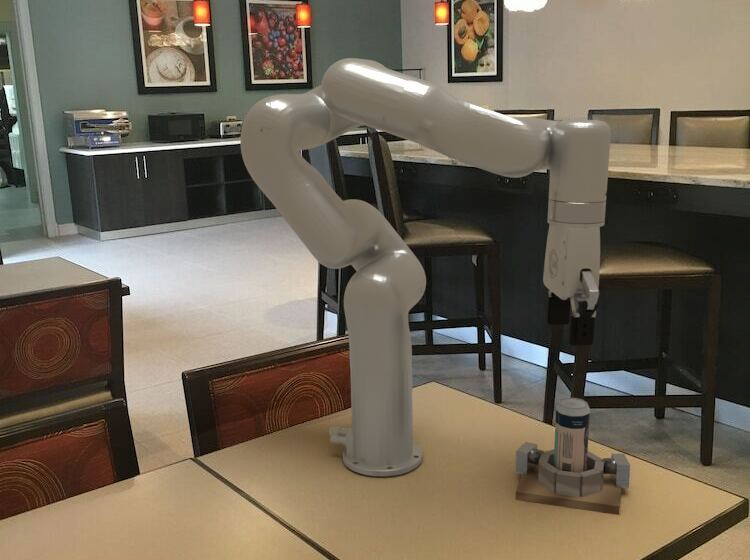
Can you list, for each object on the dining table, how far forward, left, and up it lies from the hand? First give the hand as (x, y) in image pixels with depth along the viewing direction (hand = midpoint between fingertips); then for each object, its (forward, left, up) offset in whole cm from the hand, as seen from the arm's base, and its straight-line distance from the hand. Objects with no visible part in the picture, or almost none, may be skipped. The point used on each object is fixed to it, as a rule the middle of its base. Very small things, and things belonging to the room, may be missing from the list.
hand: (568, 333), depth 111 cm
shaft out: (+7, 0, -22) cm, 23 cm away
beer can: (+1, -1, -22) cm, 22 cm away
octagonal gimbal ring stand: (+1, -1, -23) cm, 23 cm away
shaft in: (-5, 0, -22) cm, 22 cm away
